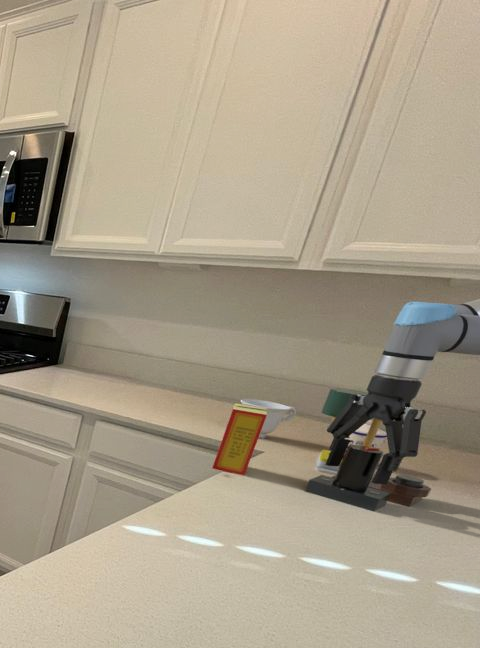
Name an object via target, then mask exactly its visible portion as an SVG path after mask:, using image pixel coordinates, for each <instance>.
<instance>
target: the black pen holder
mask: <svg viewBox="0 0 480 648" xmlns="http://www.w3.org/2000/svg"><path fill="white" fill-rule="evenodd" d="M383 454H384V451H382V450H381V449H380V450H379V448H370V447H366V446H360V445H349V446H348V448H347V451H346V453H345V455H344V458H343V460H342V462H341V465H340V467H339V469H338V472H337V474H336V476H335V475H334V476H335V478H334V481H333V483H334V484H335V485H338V486H340V487H343V488H347V489H351V490H357V491H366V490H367V488H368V485H369V483H370V481H371V479H372V478H374V475H375V473H376V471H377V469H378V467H379V465H380V462H381V460H382V455H383Z"/></svg>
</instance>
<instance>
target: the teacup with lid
mask: <svg viewBox="0 0 480 648" xmlns="http://www.w3.org/2000/svg"><path fill="white" fill-rule="evenodd" d="M372 422H373V420H372V419H370V420H369V421H368V422H366V423H365V424H364V425H362V426H361V427H360V428H359V429H357V430H356V431H355V432H354V433H352V434H351V435H350V436H349V437H350V438H345V439H348V440H350V442H349V445H360V446H362V445H363V442H364V440H365V438H366V436H367V433H368V431H369V429H370V427H371V424H372ZM383 443H387V444H388V441H387V434H386V430H385V431H384V430H382V429H381V428H379V429H378V431H377V433H376V435H375V438H374V440H373V442H372V444H371V447H370V448H379V450H380V451H381V447H382V446H383ZM349 445H348V446H349ZM347 448H348V447H347ZM346 451H347V449H346ZM384 454H385V453H383V455H382V457H381V459H382V458H383V456H384ZM386 454H389V452H387V453H386Z"/></svg>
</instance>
